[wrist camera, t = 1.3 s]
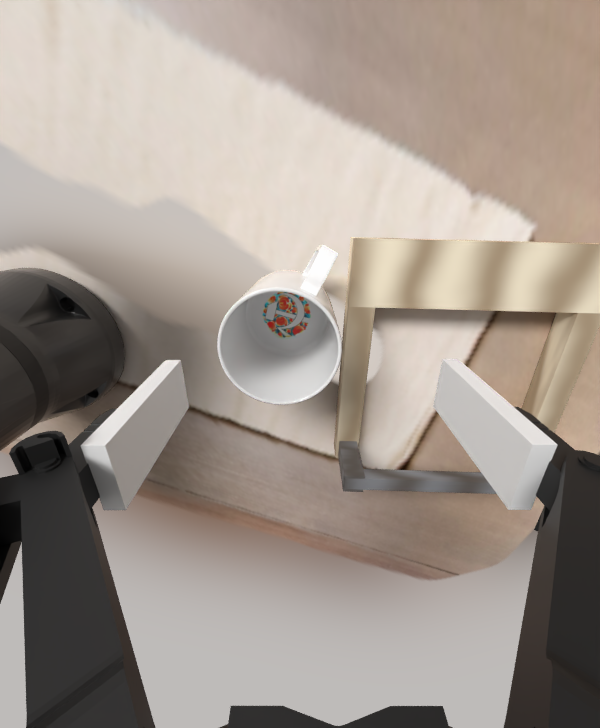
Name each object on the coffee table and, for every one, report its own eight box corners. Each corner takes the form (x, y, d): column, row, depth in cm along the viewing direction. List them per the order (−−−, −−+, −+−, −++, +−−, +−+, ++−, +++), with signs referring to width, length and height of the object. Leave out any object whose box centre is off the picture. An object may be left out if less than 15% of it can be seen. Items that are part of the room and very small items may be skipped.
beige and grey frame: (334, 444, 39) (340, 494, 32) (350, 237, 29) (365, 241, 22) (527, 450, 39) (578, 502, 31) (608, 243, 29) (710, 249, 22)
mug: (306, 365, 35) (305, 422, 24) (232, 329, 33) (199, 374, 23) (364, 265, 30) (392, 284, 20) (282, 219, 29) (268, 214, 19)
